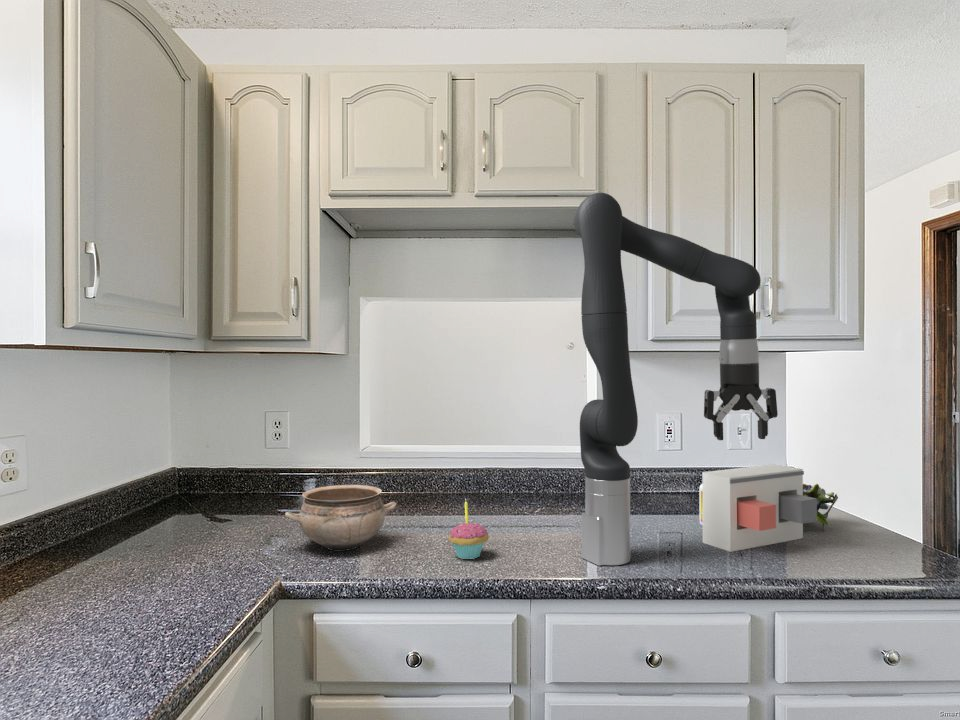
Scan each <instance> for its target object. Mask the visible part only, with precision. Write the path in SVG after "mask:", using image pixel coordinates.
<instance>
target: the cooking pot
mask: <svg viewBox="0 0 960 720" xmlns="http://www.w3.org/2000/svg"><path fill="white" fill-rule="evenodd" d="M381 493H382V489H381V488H380V487H376V486H374V485H364V484H363V485H362V484H335V485H326V486H320V487H315V488H312V489H308V490H305V491H304V492H302V494H301V495H302V497H303V498H304V500H303V502H302V505H301V507H300V511H299V513H293V512H290V511H286V512H285V513H284V516H285V517H286V518H288V519H290V520H292V521H294V522H297V523H299V527H300V529H301V531H302V532H303V534H304V535H305V536H306V537H307V538H308V539H309V540H311V541H313V542H315V543H317V544H318V545H320V546H322V547H324V548H327V549H328V548H329V549H328V550H330V549H332V550H331V551H334V550H345V551H348V550H347V549H351V550H353V549H352V548H354V549H356V548H357V546H360V545H362V544H364V543H366V542H367V541H369V540H370V539H372V538H373V537H374V536H375V535H377V533H379V532H380V530H381V529H382V527H383V525H384V522H385V518H386V517H385V516H386V515H387V514H388V513H389V512H391V511H393V510H394V509H395V508H396V507H397V502H396V501H391V502H389V503H386V504H385V503H383V501H382V499H381V496H380V494H381ZM355 547H356V548H355Z"/></svg>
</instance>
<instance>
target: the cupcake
mask: <svg viewBox="0 0 960 720" xmlns="http://www.w3.org/2000/svg"><path fill="white" fill-rule="evenodd" d="M464 500H465V502H464V513H465V514H464V517H465V522H464V523H463V522H462V523H459V524H457V525H455V526H453V528H452V529H450V531H449V535H448V540H449V541H450V542H451V543H452V545H453V547H454V551H455V554H456V557H457V556H458V557H460V558H465V559H470V558H477V557H479V558H480V556H481V553H482V548H483V546H484V543H487V542H488V541H489V534H490V533H489V531H488V529H487V528H485V527H484V526H483V525H481V524H480V523H474V522H469V521H470V520H469V507H468V506H469V505H468V502H467V498H464ZM458 557H457V558H458ZM477 559H478V558H477Z"/></svg>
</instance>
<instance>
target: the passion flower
mask: <svg viewBox="0 0 960 720" xmlns="http://www.w3.org/2000/svg"><path fill="white" fill-rule="evenodd" d="M803 496H807V497H812V498H816V499H817V521H818V522H819V523H822V531H824V532H825V528H826V526H827V525H828V522H827V520H828V517H829V513H830V511H831V509H832V508H833V506H834V505H835V504H836V502H837V501H838V499H839V496H838V494H837V493H834V492H833V491H831V492H829V493H828V492H827V493H826V489H824V488H821V487H820V485H819V483H816V484H814V485H811V484H806V483H803ZM826 496H827V497H826ZM827 504H830V507H829V506H828V505H827ZM819 510H827V511H826V512H825V513H821V512H820V511H819Z"/></svg>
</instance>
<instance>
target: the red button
mask: <svg viewBox="0 0 960 720" xmlns="http://www.w3.org/2000/svg"><path fill="white" fill-rule="evenodd" d="M737 525H740V526H743V527H747V528H750V529H754V530H757V531H763V530H768V529H774V528H776V505H775V504H771V503H766V502H762V501H758V500H754V499H752V500H745V501H738V502H737Z"/></svg>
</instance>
